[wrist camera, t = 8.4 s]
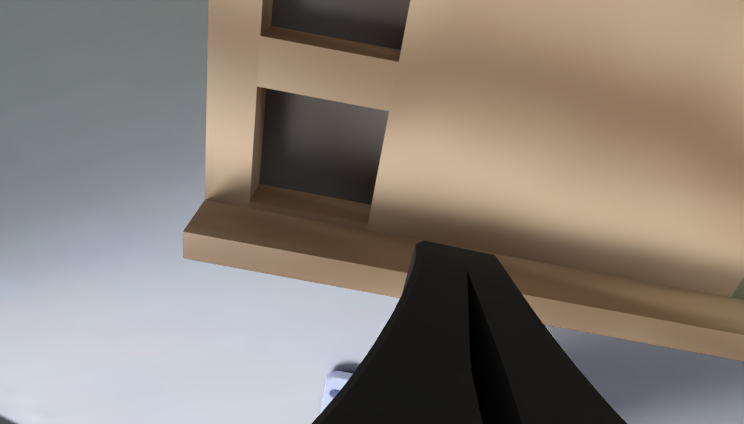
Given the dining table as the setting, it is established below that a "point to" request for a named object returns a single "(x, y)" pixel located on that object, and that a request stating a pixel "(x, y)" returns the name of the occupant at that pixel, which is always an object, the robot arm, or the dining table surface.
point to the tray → (488, 152)
